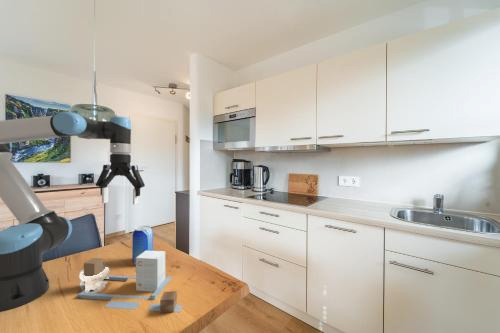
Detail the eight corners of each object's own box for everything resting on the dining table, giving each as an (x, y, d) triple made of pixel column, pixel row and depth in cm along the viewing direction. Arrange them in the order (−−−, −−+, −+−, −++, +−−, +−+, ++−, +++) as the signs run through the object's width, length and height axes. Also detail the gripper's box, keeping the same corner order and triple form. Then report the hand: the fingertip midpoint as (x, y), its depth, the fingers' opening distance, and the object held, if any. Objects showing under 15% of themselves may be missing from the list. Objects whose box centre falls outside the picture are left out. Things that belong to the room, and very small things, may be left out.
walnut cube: (160, 312, 63) (160, 300, 63) (163, 303, 67) (164, 291, 67) (173, 312, 64) (173, 299, 63) (176, 303, 68) (176, 291, 67)
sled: (73, 297, 71) (73, 269, 70) (101, 277, 83) (101, 253, 83) (154, 302, 69) (155, 273, 69) (170, 281, 81) (171, 256, 81)
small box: (165, 284, 79) (165, 250, 79) (157, 295, 73) (157, 258, 73) (145, 283, 80) (145, 249, 80) (135, 293, 74) (135, 257, 73)
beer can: (127, 265, 93) (128, 229, 93) (141, 256, 101) (142, 224, 101) (143, 267, 91) (144, 231, 91) (156, 259, 99) (156, 226, 99)
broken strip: (104, 310, 65) (104, 307, 65) (111, 304, 68) (111, 300, 68) (179, 315, 64) (179, 312, 64) (182, 309, 67) (182, 305, 67)
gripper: (85, 152, 85) (85, 204, 86) (143, 154, 84) (143, 206, 84) (99, 153, 93) (99, 200, 93) (153, 154, 91) (153, 202, 92)
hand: (120, 203), depth 89 cm, fingers open, 13 cm apart
